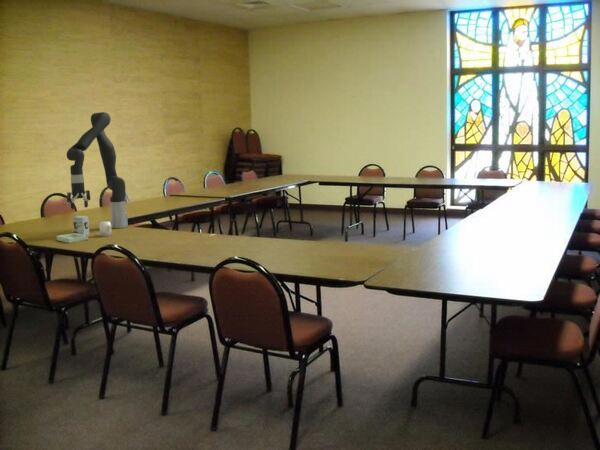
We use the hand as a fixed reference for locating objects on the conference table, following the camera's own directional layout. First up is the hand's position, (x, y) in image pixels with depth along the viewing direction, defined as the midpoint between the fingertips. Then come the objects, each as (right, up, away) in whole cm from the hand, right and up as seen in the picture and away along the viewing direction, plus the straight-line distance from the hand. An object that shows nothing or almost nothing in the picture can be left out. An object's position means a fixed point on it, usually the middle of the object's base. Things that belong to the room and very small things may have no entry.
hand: (79, 208), depth 399 cm
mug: (+17, -17, 0) cm, 24 cm away
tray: (0, -19, -13) cm, 23 cm away
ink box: (+1, -17, +3) cm, 17 cm away
